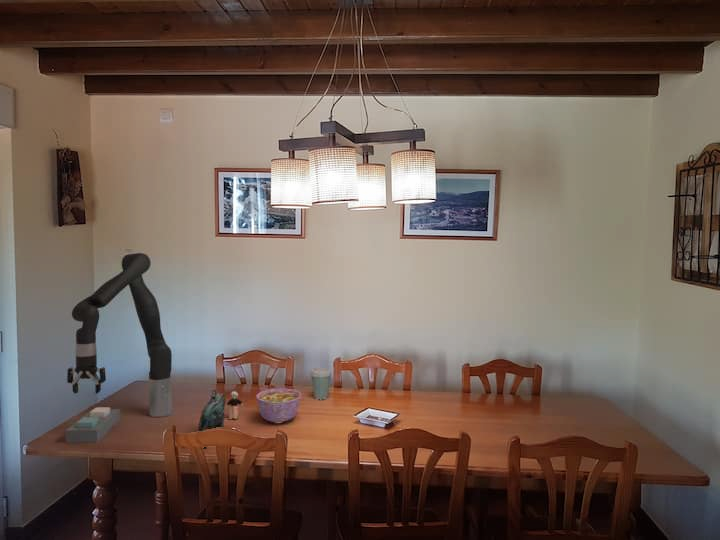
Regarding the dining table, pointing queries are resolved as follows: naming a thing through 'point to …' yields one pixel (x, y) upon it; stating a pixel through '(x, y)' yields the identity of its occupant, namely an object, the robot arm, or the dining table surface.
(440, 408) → the dining table surface
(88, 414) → the key box
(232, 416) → the grandmother figurine
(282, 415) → the bowl of food
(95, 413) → the cream key
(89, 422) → the teal key
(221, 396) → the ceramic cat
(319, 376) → the disposable coffee cup
